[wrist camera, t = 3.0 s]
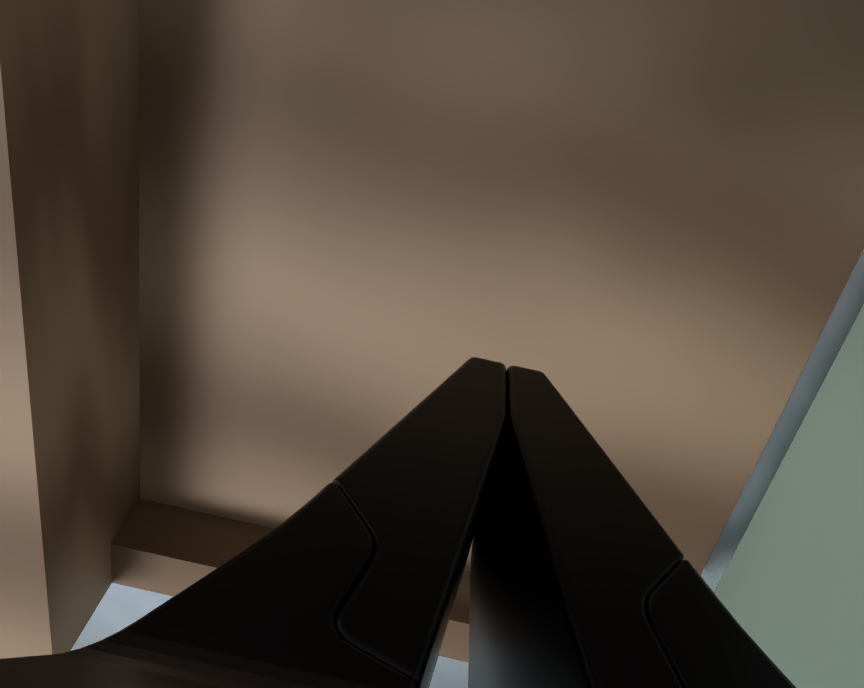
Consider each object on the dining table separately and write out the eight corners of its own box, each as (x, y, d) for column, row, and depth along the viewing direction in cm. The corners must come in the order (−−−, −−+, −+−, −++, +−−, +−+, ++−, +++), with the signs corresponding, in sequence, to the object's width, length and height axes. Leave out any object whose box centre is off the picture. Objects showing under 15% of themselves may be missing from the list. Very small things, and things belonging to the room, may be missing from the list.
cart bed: (650, 574, 22) (687, 819, 16) (136, 460, 22) (-5, 663, 16) (1101, -420, 11) (1636, -702, 6) (129, -624, 12) (-257, -1090, 6)
